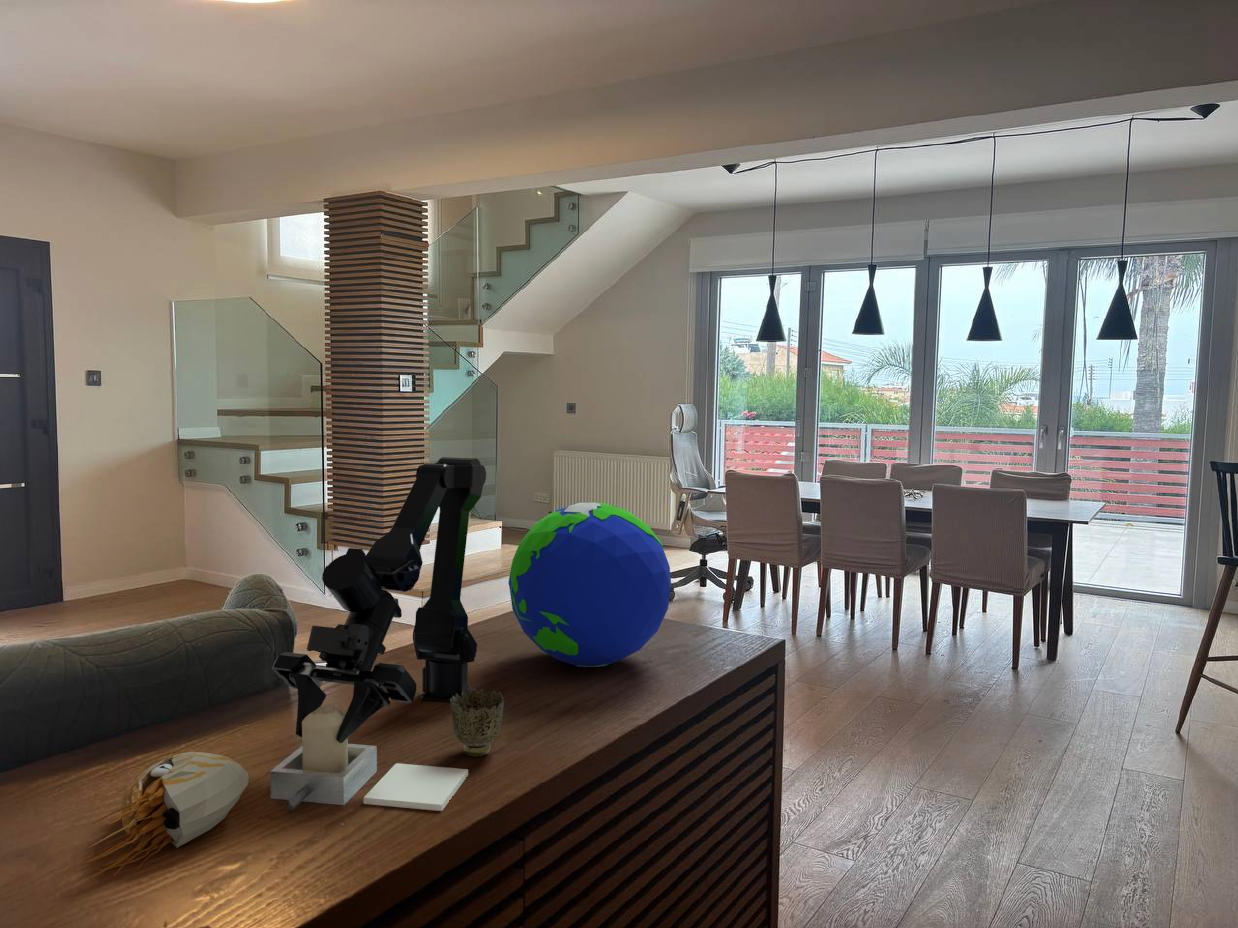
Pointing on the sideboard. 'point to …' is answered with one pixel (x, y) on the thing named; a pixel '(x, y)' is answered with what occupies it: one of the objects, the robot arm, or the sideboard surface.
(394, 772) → the tile
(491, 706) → the cup
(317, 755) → the candle
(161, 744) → the sideboard surface
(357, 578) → the robot arm
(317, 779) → the small drawer with knob
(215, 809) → the nautilus
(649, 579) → the globe
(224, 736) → the sideboard surface
